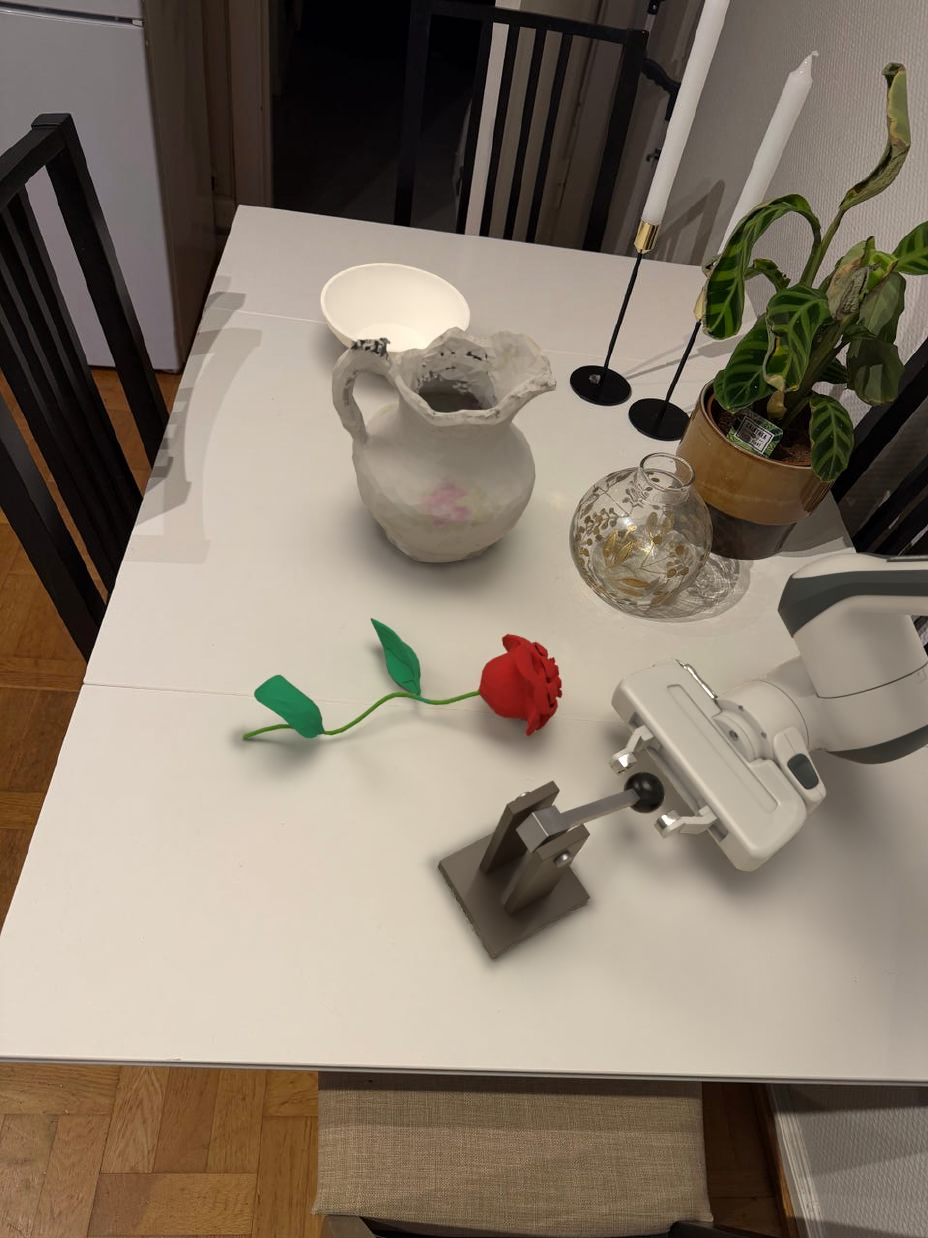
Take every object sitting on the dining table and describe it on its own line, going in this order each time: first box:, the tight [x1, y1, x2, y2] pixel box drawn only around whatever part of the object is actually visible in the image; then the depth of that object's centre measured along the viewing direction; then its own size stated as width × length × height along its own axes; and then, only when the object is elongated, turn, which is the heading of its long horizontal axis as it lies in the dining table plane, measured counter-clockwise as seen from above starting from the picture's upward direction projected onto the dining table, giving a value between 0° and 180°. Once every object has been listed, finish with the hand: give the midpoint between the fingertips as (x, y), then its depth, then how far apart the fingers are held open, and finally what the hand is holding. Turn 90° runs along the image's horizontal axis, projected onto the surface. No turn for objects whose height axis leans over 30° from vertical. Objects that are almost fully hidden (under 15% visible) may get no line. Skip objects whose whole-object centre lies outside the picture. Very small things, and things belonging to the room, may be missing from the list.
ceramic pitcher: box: [331, 327, 557, 563], centre depth 90 cm, size 22×20×25 cm
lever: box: [516, 771, 666, 853], centre depth 72 cm, size 17×4×4 cm, turn 122°
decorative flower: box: [242, 617, 563, 740], centre depth 82 cm, size 14×30×10 cm, turn 96°
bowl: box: [319, 262, 471, 359], centre depth 116 cm, size 20×20×7 cm
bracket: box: [437, 780, 591, 960], centre depth 71 cm, size 10×9×14 cm
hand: (636, 797), depth 76 cm, fingers open, 5 cm apart
